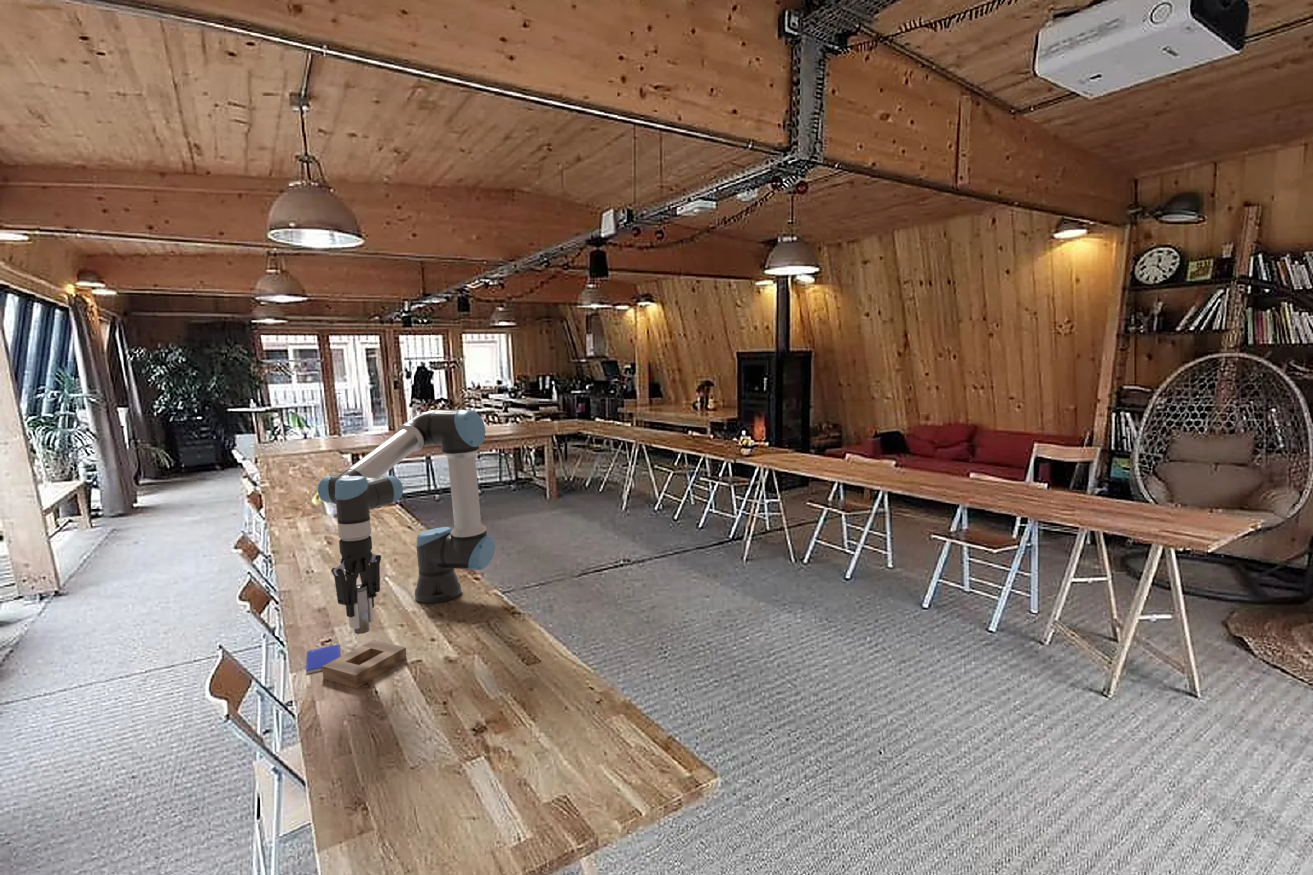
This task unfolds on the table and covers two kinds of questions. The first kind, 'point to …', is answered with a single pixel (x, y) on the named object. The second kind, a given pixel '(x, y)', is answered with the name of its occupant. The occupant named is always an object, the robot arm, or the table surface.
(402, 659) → the slot block
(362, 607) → the pin
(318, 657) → the hard drive
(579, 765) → the table surface
